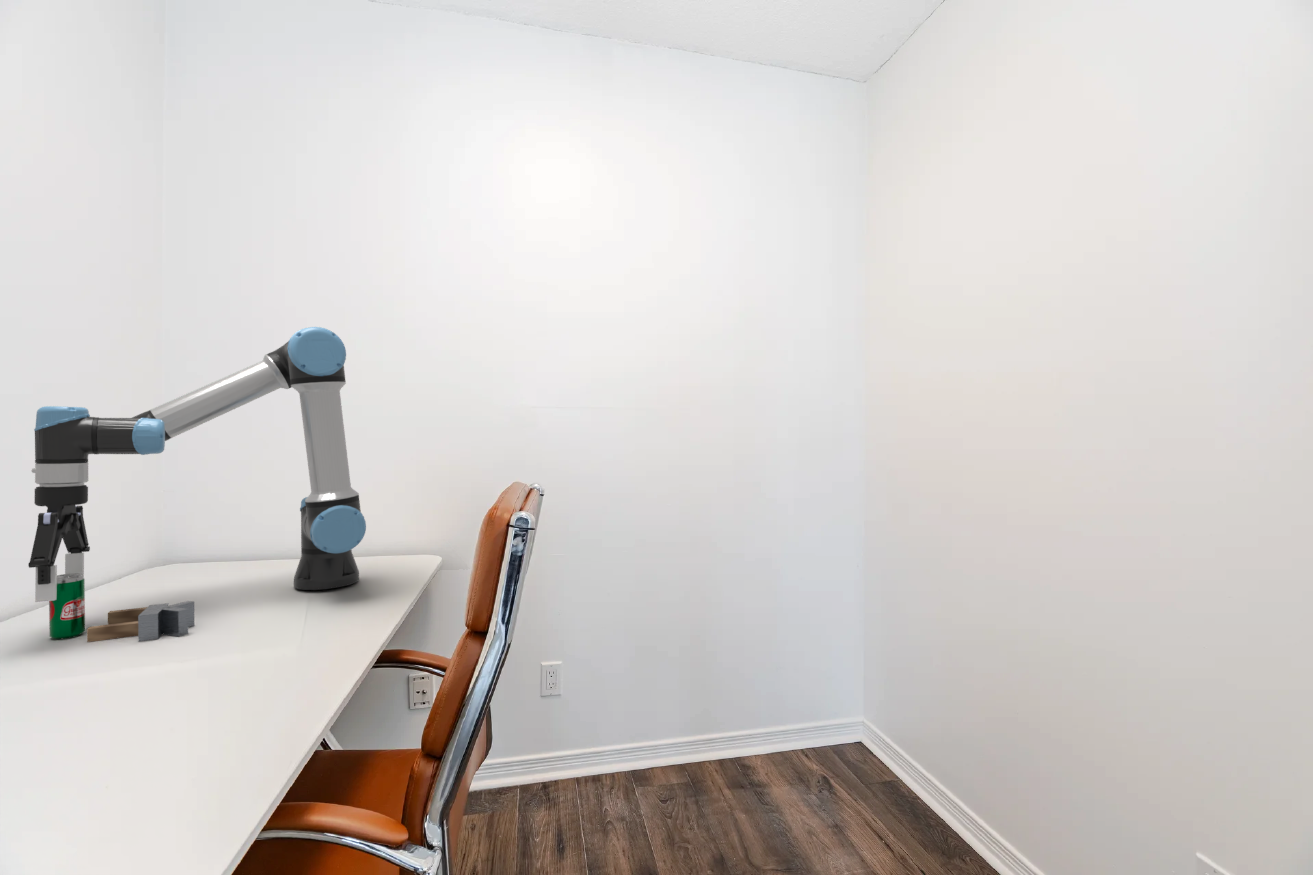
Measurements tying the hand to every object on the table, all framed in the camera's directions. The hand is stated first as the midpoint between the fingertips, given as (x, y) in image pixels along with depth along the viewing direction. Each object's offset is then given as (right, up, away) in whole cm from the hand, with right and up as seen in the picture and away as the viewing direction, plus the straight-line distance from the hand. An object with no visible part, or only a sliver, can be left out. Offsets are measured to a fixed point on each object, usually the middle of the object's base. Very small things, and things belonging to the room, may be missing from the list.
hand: (60, 592), depth 119 cm
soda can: (+1, -9, 0) cm, 9 cm away
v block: (+19, -9, +2) cm, 21 cm away
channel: (+9, -9, +5) cm, 13 cm away
